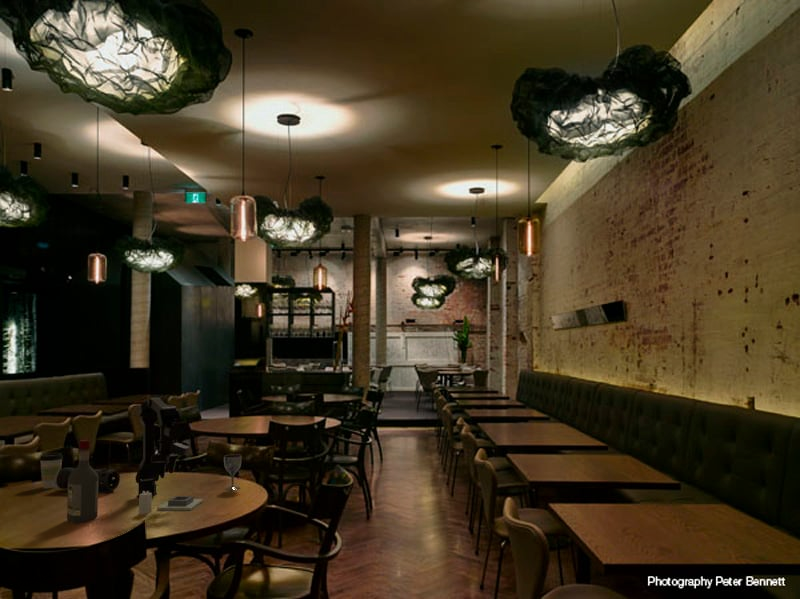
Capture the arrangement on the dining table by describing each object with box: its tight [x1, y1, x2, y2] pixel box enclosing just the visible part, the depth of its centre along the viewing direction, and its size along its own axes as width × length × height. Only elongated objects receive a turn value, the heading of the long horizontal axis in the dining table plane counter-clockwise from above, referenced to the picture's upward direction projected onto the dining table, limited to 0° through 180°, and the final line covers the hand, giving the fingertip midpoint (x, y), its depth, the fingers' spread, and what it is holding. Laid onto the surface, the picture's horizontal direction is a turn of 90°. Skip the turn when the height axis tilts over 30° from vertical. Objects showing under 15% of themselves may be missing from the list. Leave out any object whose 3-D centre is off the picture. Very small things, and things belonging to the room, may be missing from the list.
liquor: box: [66, 439, 99, 524], centre depth 237 cm, size 9×9×30 cm
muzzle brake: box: [54, 467, 121, 493], centre depth 283 cm, size 10×28×10 cm, turn 78°
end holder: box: [156, 495, 205, 511], centre depth 256 cm, size 14×14×3 cm
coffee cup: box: [39, 452, 64, 489], centre depth 292 cm, size 10×10×15 cm
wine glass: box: [223, 453, 243, 492], centre depth 286 cm, size 8×8×15 cm
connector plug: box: [138, 491, 153, 515], centre depth 246 cm, size 4×4×8 cm
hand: (166, 475), depth 254 cm, fingers open, 9 cm apart
